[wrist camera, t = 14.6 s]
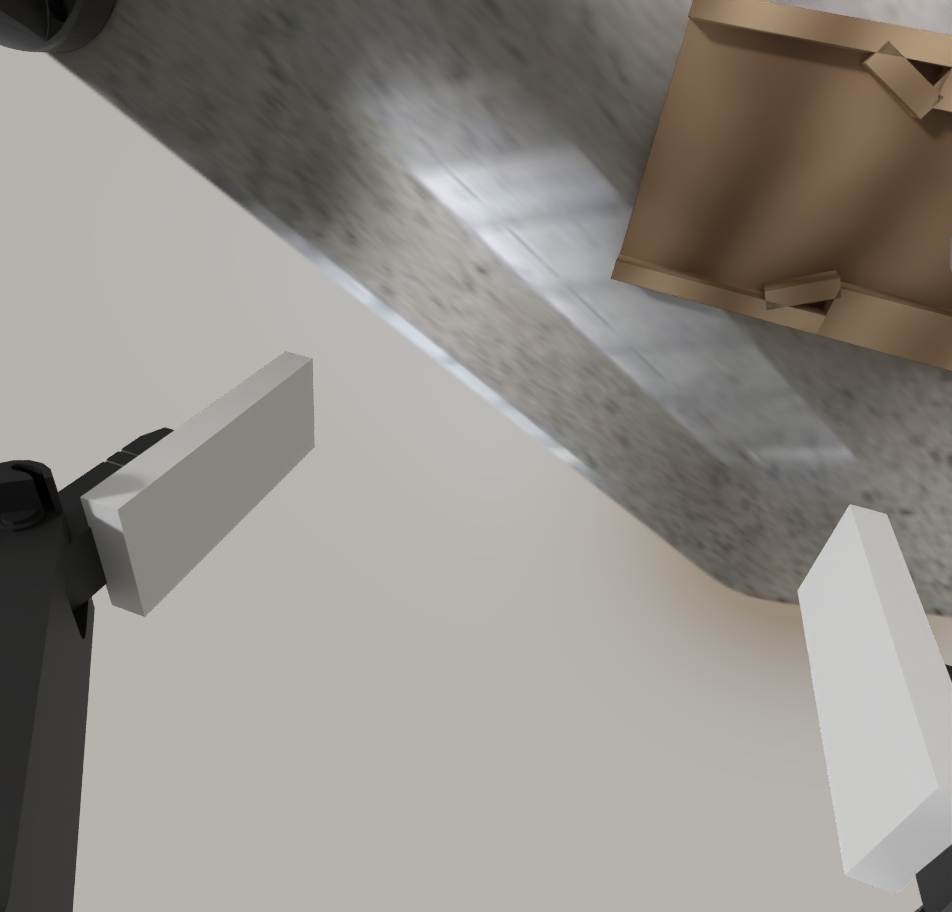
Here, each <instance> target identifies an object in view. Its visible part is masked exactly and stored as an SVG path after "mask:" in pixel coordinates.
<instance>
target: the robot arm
mask: <svg viewBox="0 0 952 912" xmlns="http://www.w3.org/2000/svg"><path fill="white" fill-rule="evenodd" d="M114 2H115V0H0V45H2V46H5V47H8V48H12V49H16V50H21V51H29V52H67V51H71V50H75V49H77V48H80V47H82V46H83V45H85V44H87V43H88V42H89V41H91V40H92V39H93V38H94V37H95V36H96V35H97V34H98V33H99V31H100V30H101V29H102V27H103V26H104V24H105V23H106V21H107V19H108V17H109V15H110V13H111V11H112V8H113V5H114ZM312 363H313V362H312V358H308V357H305V356H301V355H297V354H294V353H290V352H284V353H283V354H281V355H280V356H279V357H277V358H276V359H274V360H273V361H272V362H270V363H269V364H267V365H266V366H264V367H263V368H262V369H260V370H259V371H257V372H256V373H255V374H253V375H252V376H250V377H249V378H248V379H246V380H245V381H243V382H242V383H240V384H239V385H238V386H236V387H235V388H234V389H232V390H231V391H229V392H228V393H226V394H225V395H224V396H222V397H221V398H220V399H218V400H217V401H215V402H214V403H212V404H211V405H210V406H208V407H207V408H205V409H204V410H202V411H201V412H200V413H198V414H197V415H195V416H194V417H193V418H191V419H190V420H188V421H187V422H185V423H184V424H183V425H181V426H180V427H179V428H177V429H176V430H172V429H169V428H162V429H159V430H157V431H154V432H151V433H149V434H145V435H143V436H140V437H139V438H137V439H136V440H135V441H133V442H131V443H130V444H129V445H127V446H126V447H124V448H123V449H122V451H121V452H117V453H115V454H114V455H112V456H111V457H109V458H108V459H107V461H106V462H102V463H100V464H99V465H97V466H96V467H95V468H93V469H92V470H90V471H89V472H87V473H86V474H84V475H83V476H81V477H80V478H78V479H77V480H75V481H74V482H72V483H71V484H69V485H68V486H67V487H65V488H64V489H62V490H61V491H59V492H58V491H57V488H56V485H55V481H54V478H53V476H52V472H51V469H50V468H48V467H47V466H46V465H44V464H43V463H39V462H35V461H31V460H15V461H14V460H13V461H8V462H3V463H0V912H73V897H74V885H75V871H76V856H77V843H78V829H79V816H80V802H81V787H82V774H83V760H84V745H85V733H86V719H87V706H88V692H89V677H90V663H91V650H92V636H93V623H94V605H93V600H92V596H93V595H94V594H95V593H96V592H97V591H98V590H99V589H101V588H102V587H103V586H104V585H105V584H106V586H107V590H108V593H109V596H110V600H111V603H112V605H114V606H117V607H119V608H122V609H125V610H128V611H130V612H133V613H136V614H138V615H141V616H144V617H145V616H146V615H147V614H148V613H149V612H150V611H151V610H152V609H153V608H154V607H155V606H156V605H157V604H158V603H159V602H160V601H161V600H162V599H163V598H164V597H165V596H166V595H167V594H168V593H169V592H170V591H171V590H172V589H173V588H174V587H175V586H176V585H177V584H178V583H179V582H180V581H181V580H182V579H183V578H184V577H185V576H186V575H187V574H188V573H189V572H190V571H191V570H192V569H193V568H194V567H195V566H196V565H197V564H198V563H199V562H200V561H201V560H202V559H203V558H204V557H205V556H206V555H207V554H208V553H209V552H210V551H211V550H212V549H213V548H214V547H215V546H216V545H217V544H218V543H219V542H220V541H221V540H222V539H223V538H224V537H225V536H226V535H227V534H228V533H229V532H230V531H231V530H232V529H233V528H234V527H235V526H236V525H237V524H238V523H239V522H240V521H241V520H242V519H243V518H244V517H245V516H246V515H247V514H248V513H249V512H250V511H251V510H252V509H253V508H254V507H255V506H256V505H257V504H258V503H259V502H260V501H261V500H262V499H263V498H264V497H265V496H266V495H267V494H268V493H269V492H270V491H271V490H272V489H273V488H274V487H275V486H276V485H277V484H278V483H279V482H280V481H281V480H282V479H283V478H284V477H285V476H286V475H287V474H288V473H289V472H290V471H291V470H292V469H293V468H294V467H295V466H296V465H297V464H298V463H299V462H300V461H301V460H302V459H303V458H304V457H305V456H306V455H307V454H308V453H309V452H310V451H311V450H312V449H313V448H314V409H313V408H314V405H313V364H312ZM798 597H799V603H800V609H801V614H802V621H803V627H804V633H805V638H806V644H807V651H808V657H809V663H810V669H811V675H812V681H813V687H814V693H815V698H816V705H817V711H818V717H819V723H820V729H821V735H822V741H823V747H824V753H825V759H826V765H827V771H828V777H829V783H830V789H831V795H832V801H833V807H834V813H835V819H836V825H837V831H838V838H839V844H840V850H841V855H842V862H843V868H844V874H845V876H848V877H850V878H853V879H856V880H859V881H861V882H864V883H866V884H869V885H872V886H875V887H877V888H880V889H883V890H886V891H888V892H891V893H894V894H897V893H898V892H899V891H900V890H901V889H903V888H904V887H905V886H906V885H907V884H909V883H910V882H911V881H912V880H913V879H915V878H916V879H917V883H918V887H919V891H920V895H921V899H922V902H923V905H922V906H921V907H920V908H919V909H917V910H916V911H915V912H952V666H949V665H946V664H944V661H943V658H942V656H941V653H940V651H939V648H938V645H937V643H936V640H935V638H934V635H933V633H932V630H931V627H930V625H929V622H928V620H927V617H926V614H925V612H924V609H923V607H922V604H921V601H920V599H919V596H918V594H917V591H916V588H915V586H914V583H913V581H912V578H911V576H910V573H909V570H908V568H907V565H906V563H905V560H904V557H903V555H902V552H901V550H900V547H899V544H898V542H897V539H896V537H895V534H894V532H893V529H892V526H891V524H890V521H889V519H888V516H887V514H884V513H881V512H877V511H873V510H870V509H866V508H862V507H859V506H855V505H851V504H850V505H849V506H848V508H847V510H846V511H845V513H844V515H843V516H842V518H841V520H840V521H839V523H838V525H837V526H836V528H835V530H834V531H833V533H832V534H831V536H830V538H829V539H828V541H827V543H826V544H825V546H824V548H823V549H822V551H821V553H820V554H819V556H818V558H817V559H816V561H815V563H814V564H813V566H812V568H811V569H810V571H809V573H808V574H807V576H806V577H805V579H804V581H803V582H802V584H801V586H800V587H799V589H798Z"/></svg>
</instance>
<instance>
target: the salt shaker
mask: <svg viewBox="0 0 952 912" xmlns="http://www.w3.org/2000/svg"><path fill="white" fill-rule="evenodd" d="M949 267H950V270H951V272H952V237H951V239H950V261H949Z"/></svg>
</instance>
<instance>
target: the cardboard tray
mask: <svg viewBox="0 0 952 912" xmlns="http://www.w3.org/2000/svg"><path fill="white" fill-rule="evenodd" d="M688 17H689V18H690V20H689V23H688V26H687V30H686V33H685V37H684V40H683V43H682V47H681V50H680V53H679V57H678V60H677V64H676V67H675V70H674V74H673V77H672V80H671V84H670V87H669V90H668V94H667V97H666V101H665V104H664V107H663V111H662V114H661V117H660V121H659V124H658V127H657V131H656V134H655V138H654V141H653V144H652V148H651V151H650V154H649V158H648V161H647V165H646V168H645V171H644V175H643V178H642V181H641V185H640V188H639V191H638V195H637V198H636V202H635V205H634V208H633V212H632V215H631V218H630V222H629V225H628V229H627V232H626V235H625V239H624V242H623V245H622V249H621V252H620V255H619V257H618V258H617V260H616V263H615V266H614V270H613V273H612V276H611V279H614V280H618V281H621V282H625V283H629V284H632V285H636V286H640V287H644V288H647V289H651V290H655V291H658V292H662V293H666V294H669V295H673V296H677V297H680V298H684V299H688V300H691V301H695V302H699V303H702V304H706V305H710V306H714V307H717V308H721V309H725V310H728V311H732V312H736V313H739V314H743V315H747V316H750V317H754V318H758V319H761V320H765V321H769V322H773V323H776V324H780V325H784V326H787V327H791V328H795V329H798V330H802V331H806V332H809V333H813V334H817V335H820V336H824V337H828V338H831V339H835V340H839V341H843V342H846V343H850V344H854V345H857V346H861V347H865V348H868V349H872V350H876V351H879V352H883V353H887V354H890V355H894V356H898V357H901V358H905V359H909V360H913V361H916V362H920V363H924V364H927V365H931V366H935V367H938V368H942V369H946V370H949V371H952V272H951V270H950V267H949V261H950V239H951V237H952V35H947V34H941V33H936V32H930V31H925V30H919V29H914V28H909V27H903V26H898V25H892V24H887V23H881V22H876V21H870V20H865V19H859V18H854V17H848V16H843V15H838V14H832V13H827V12H821V11H816V10H810V9H805V8H799V7H794V6H788V5H783V4H777V3H772V2H767V1H761V0H693V2H692V6H691V9H690V12H689V16H688Z"/></svg>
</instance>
